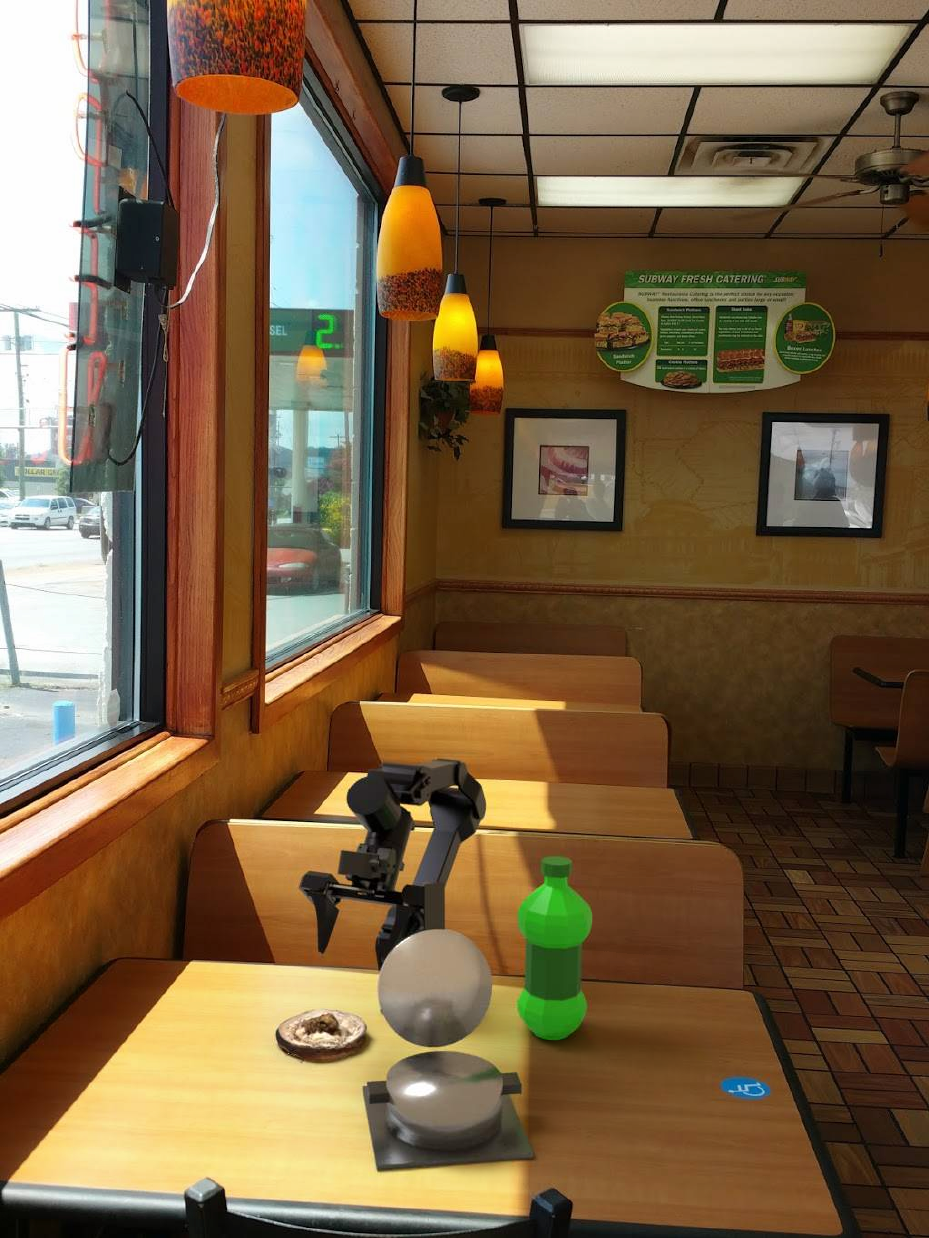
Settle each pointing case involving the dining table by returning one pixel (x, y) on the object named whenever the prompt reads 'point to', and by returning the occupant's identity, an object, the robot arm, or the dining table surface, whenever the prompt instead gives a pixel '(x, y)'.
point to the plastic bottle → (553, 953)
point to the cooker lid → (434, 980)
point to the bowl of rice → (321, 1035)
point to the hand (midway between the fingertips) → (352, 958)
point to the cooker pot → (444, 1113)
